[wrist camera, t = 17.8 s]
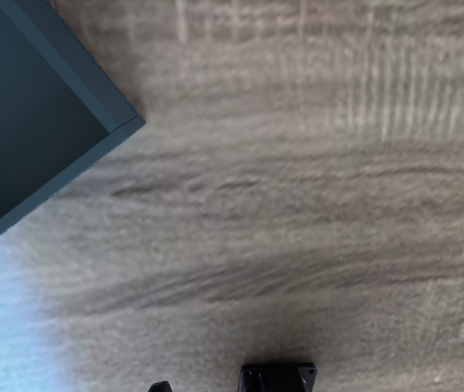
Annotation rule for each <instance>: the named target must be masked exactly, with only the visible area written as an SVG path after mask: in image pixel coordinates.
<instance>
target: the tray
mask: <svg viewBox="0 0 464 392" xmlns="http://www.w3.org/2000/svg"><path fill="white" fill-rule="evenodd" d="M145 124H146V123H145V121H144V120H143V119H142V118H141V117H140V115H139V114H138V113H137V112H136V110H135V109H134V108H133V107H132V105H131V104H130V103H129V102H128V100H127V99H126V98H125V97H124V95H123V94H122V93H121V92H120V91H119V89H118V88H117V87H116V86H115V84H114V83H113V82H112V81H111V79H110V78H109V77H108V76H107V74H106V73H105V72H104V71H103V69H102V68H101V67H100V66H99V65H98V63H97V62H96V61H95V60H94V58H93V57H92V56H91V55H90V53H89V52H88V51H87V50H86V48H85V47H84V46H83V45H82V43H81V42H80V41H79V40H78V39H77V37H76V36H75V35H74V34H73V32H72V31H71V30H70V29H69V27H68V26H67V25H66V24H65V22H64V21H63V20H62V19H61V18H60V16H59V15H58V14H57V13H56V11H55V10H54V9H53V8H52V6H51V5H50V4H49V3H48V1H47V0H0V236H1V235H2V234H3V233H4V232H6V231H7V230H8V229H10V228H11V227H12V226H14V225H15V224H16V223H18V222H19V221H20V220H22V219H23V218H24V217H25V216H27V215H28V214H29V213H31V212H32V211H33V210H35V209H36V208H37V207H39V206H40V205H41V204H43V203H44V202H45V201H46V200H48V199H49V198H50V197H52V196H53V195H54V194H56V193H57V192H58V191H60V190H61V189H62V188H64V187H65V186H66V185H67V184H69V183H70V182H71V181H73V180H74V179H75V178H77V177H78V176H79V175H81V174H82V173H83V172H85V171H86V170H87V169H88V168H90V167H91V166H92V165H94V164H95V163H96V162H98V161H99V160H100V159H102V158H103V157H104V156H106V155H107V154H108V153H109V152H111V151H112V150H113V149H115V148H116V147H117V146H119V145H120V144H121V143H123V142H124V141H125V140H127V139H128V138H129V137H130V136H132V135H133V134H134V133H135V132H136V131H138V130H139V129H140V128H141V127H143V126H144V125H145Z"/></svg>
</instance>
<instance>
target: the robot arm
mask: <svg viewBox="0 0 464 392" xmlns="http://www.w3.org/2000/svg"><path fill="white" fill-rule="evenodd" d="M316 373H317V368H316V366H315V364H314V363H292V364H264V365H245V366H243V367H242V368H241V372H240V380H239V387H238V392H312V389H313V385H314V381H315V377H316ZM148 392H172V390H171V387H170V384H169V383H168V381H162V382H158V383H154V384H153V385H152V386H151V387H150V389H149V391H148Z"/></svg>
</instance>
